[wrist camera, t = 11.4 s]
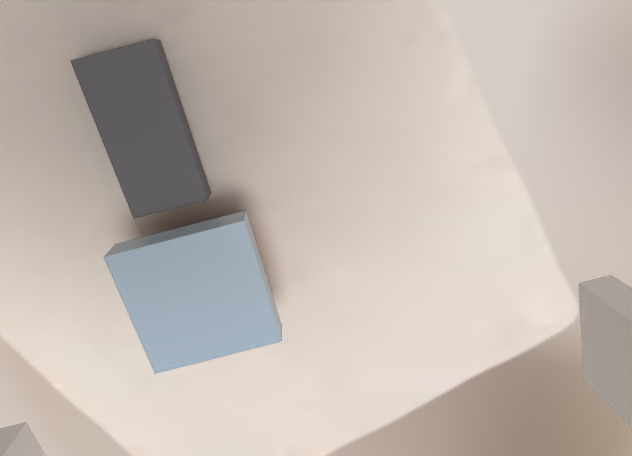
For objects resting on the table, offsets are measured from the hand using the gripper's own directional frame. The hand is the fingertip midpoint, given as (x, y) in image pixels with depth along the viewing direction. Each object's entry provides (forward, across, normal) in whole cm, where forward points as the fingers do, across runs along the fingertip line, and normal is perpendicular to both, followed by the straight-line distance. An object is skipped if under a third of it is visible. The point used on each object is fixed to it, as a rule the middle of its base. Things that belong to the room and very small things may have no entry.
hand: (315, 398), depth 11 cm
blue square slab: (+24, -9, -7) cm, 27 cm away
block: (+29, -10, +5) cm, 31 cm away
